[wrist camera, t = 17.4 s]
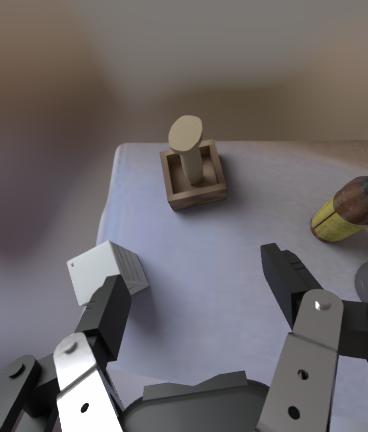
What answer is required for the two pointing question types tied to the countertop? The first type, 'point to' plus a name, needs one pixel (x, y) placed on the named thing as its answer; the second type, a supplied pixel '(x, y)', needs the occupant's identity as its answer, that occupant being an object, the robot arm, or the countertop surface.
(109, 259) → the supplement box
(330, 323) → the robot arm
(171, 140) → the handle
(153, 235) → the countertop surface
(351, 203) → the sauce bottle
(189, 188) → the open wooden box
